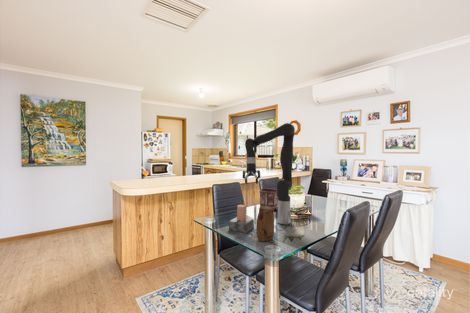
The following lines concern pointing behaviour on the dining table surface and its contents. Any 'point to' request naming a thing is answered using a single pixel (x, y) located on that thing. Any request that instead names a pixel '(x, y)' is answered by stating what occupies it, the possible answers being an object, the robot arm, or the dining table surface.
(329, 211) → the dining table surface
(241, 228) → the charcoal plinth
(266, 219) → the block
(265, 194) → the reddish brown crate
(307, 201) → the candy box
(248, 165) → the robot arm
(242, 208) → the terracotta block
